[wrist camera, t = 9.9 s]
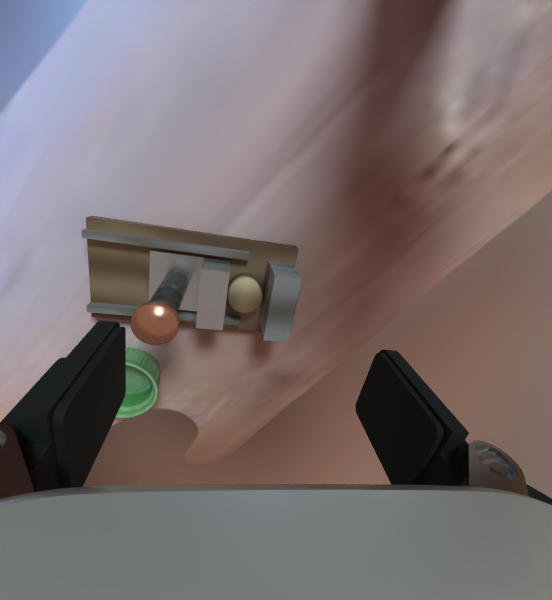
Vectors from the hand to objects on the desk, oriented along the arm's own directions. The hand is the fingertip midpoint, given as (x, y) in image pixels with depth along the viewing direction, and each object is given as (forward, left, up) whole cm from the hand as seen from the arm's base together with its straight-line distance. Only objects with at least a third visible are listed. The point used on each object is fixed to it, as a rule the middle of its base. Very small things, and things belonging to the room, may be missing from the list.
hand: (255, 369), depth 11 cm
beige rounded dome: (+6, +2, -26) cm, 27 cm away
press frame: (+6, -3, -28) cm, 29 cm away
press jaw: (+6, -5, -26) cm, 27 cm away
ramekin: (+21, -12, -28) cm, 37 cm away
